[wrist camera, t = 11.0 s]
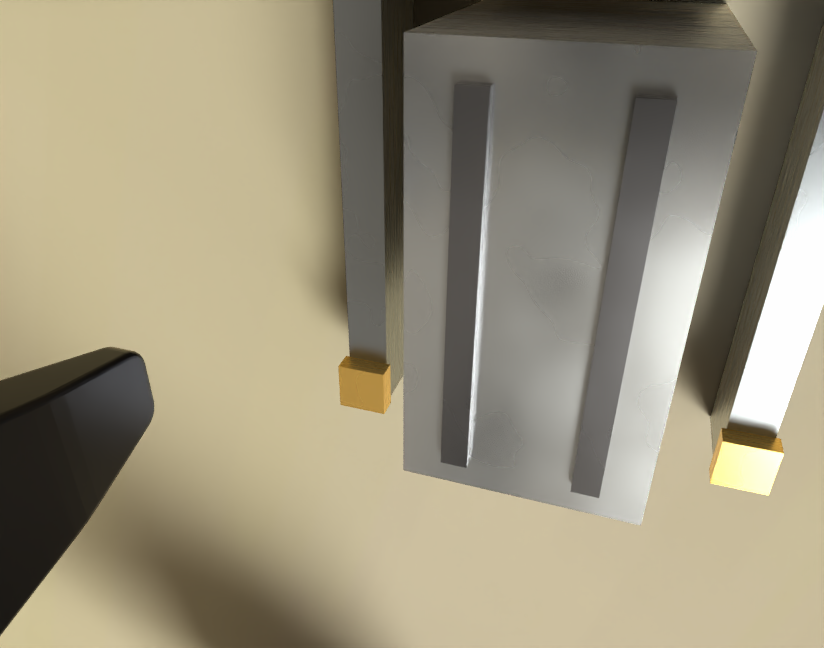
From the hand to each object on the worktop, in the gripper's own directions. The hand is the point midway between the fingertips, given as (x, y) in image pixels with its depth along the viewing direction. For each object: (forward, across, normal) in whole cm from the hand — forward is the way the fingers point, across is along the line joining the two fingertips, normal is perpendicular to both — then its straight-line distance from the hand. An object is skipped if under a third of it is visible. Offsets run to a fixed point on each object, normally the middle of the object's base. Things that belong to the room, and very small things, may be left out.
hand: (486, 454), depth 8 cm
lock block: (+10, 0, 0) cm, 10 cm away
